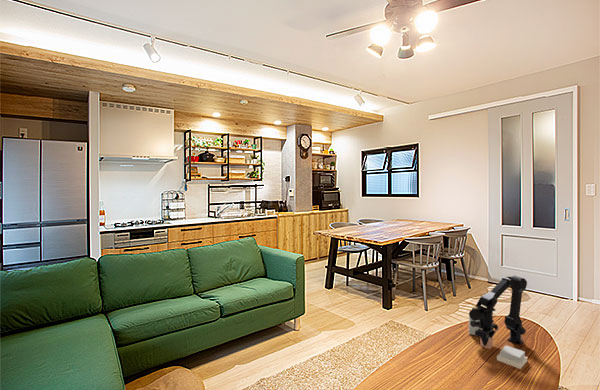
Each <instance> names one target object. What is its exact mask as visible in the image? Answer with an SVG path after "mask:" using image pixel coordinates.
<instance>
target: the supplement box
mask: <svg viewBox="0 0 600 390" xmlns="http://www.w3.org/2000/svg"><path fill="white" fill-rule="evenodd" d="M470 311H471V310H469V311H468V313H469V312H470ZM471 321H472V319H471V318H470V316H469V315H468V335H473V336H476V335H475V331H476V330H478V329H481V330H482V328H479V327H472V326H471V325H470V322H471Z"/></svg>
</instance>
